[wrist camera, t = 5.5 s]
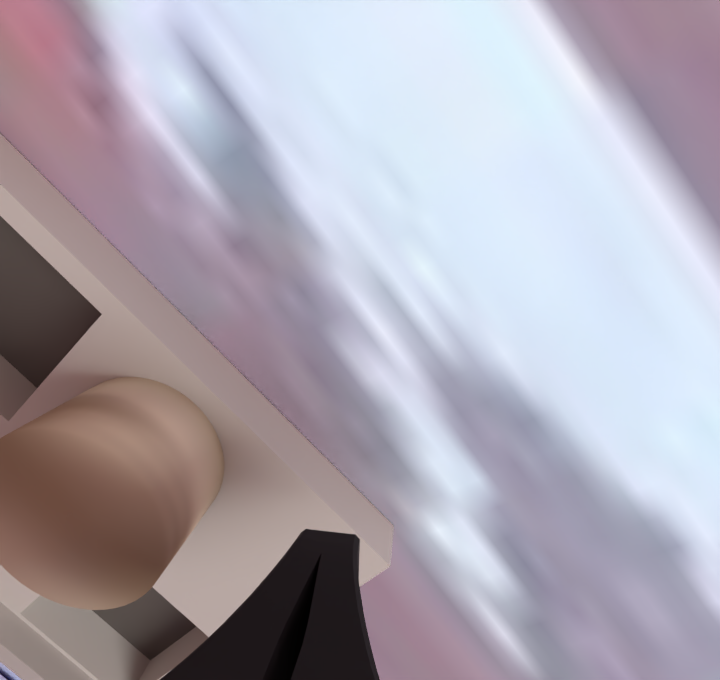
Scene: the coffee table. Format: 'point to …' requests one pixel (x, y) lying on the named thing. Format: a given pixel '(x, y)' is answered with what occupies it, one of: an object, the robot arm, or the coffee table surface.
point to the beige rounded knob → (105, 491)
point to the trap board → (191, 378)
